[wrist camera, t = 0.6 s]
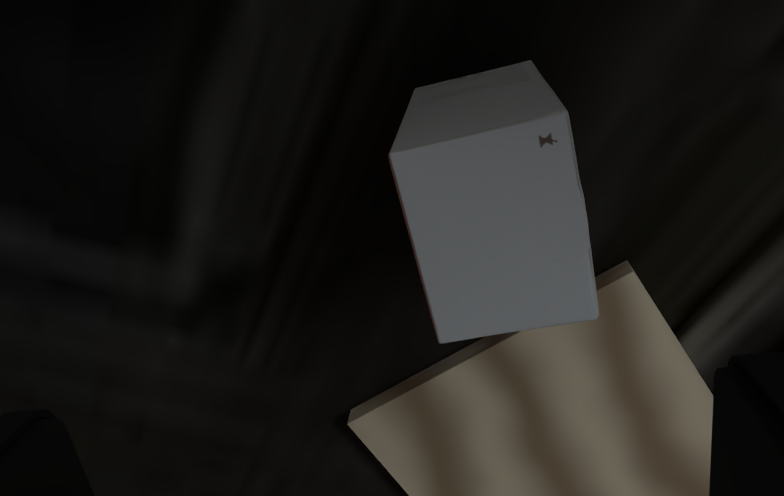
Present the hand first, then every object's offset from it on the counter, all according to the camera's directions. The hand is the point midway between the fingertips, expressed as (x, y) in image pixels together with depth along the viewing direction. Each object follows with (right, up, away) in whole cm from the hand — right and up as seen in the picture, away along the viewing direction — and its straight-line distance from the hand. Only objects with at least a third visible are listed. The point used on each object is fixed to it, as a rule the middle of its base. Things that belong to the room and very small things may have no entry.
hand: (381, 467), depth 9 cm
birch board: (+11, -10, +33) cm, 36 cm away
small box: (+5, +9, +25) cm, 27 cm away
